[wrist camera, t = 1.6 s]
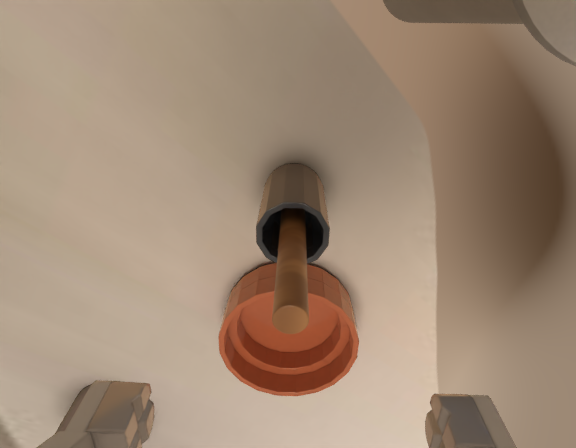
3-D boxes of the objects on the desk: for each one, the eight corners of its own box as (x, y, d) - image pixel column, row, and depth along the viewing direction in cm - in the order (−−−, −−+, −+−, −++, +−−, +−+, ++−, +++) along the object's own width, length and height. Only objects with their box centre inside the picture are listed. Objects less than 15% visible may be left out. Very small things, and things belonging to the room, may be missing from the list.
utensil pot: (324, 163, 41) (331, 204, 32) (320, 217, 43) (326, 267, 35) (265, 162, 41) (256, 201, 32) (265, 215, 44) (256, 265, 35)
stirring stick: (304, 182, 41) (310, 306, 23) (304, 202, 42) (308, 335, 24) (283, 182, 41) (272, 304, 23) (282, 201, 42) (271, 333, 24)
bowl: (358, 261, 46) (365, 293, 40) (345, 360, 53) (351, 398, 47) (224, 256, 46) (215, 287, 41) (229, 355, 53) (222, 393, 47)
